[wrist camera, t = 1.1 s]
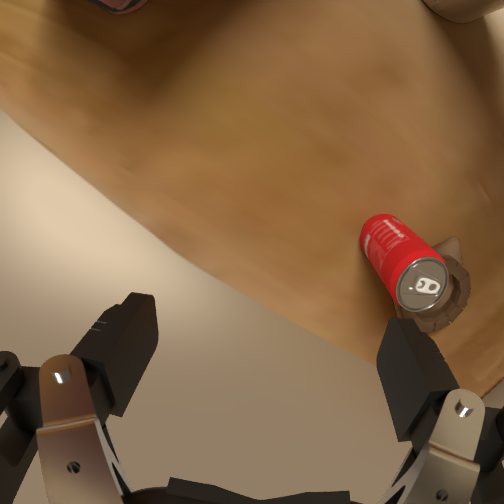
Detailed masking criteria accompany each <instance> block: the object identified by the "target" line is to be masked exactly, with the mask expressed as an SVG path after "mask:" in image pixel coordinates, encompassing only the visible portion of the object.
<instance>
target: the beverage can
mask: <svg viewBox="0 0 504 504" xmlns="http://www.w3.org/2000/svg"><path fill="white" fill-rule="evenodd" d="M360 244H361V248H362V250H363V251H364V253H365V255H366V256H367V258H368V259H369V261H370V262H371V264H372V266H373V267H374V269H375V270H376V272H377V274H378V275H379V277H380V278H381V280H382V282H383V283H384V285H385V287H386V288H387V290H388V292H389V293H390V295H391V297H392V298H393V300H394V301H395V302H396V303H397V304H398V305H400V306H401V307H403V308H404V309H406V310H409V311H413V312H419V311H423V310H426V309H428V308H430V307H432V306H433V305H435V304H436V303H437V302H438V301H439V300H440V299H441V297H442V296H443V294H444V293H445V291H446V288H447V285H448V279H449V276H448V270H447V267H446V265H445V262H444V260H443V258H442V257H441V256H440V255H439V254H438V253H437V252H436V251H435V250H434V249H432V248H431V247H430V246H429V245H428V244H427V243H426V242H424V241H423V240H422V239H421V238H420V237H419V236H418V235H416V234H415V233H414V232H413V231H412V230H411V229H409V228H408V227H407V226H406V225H405V224H403V223H402V222H401V221H400V220H399V219H397V218H396V217H394V216H392V215H389V214H380V215H376V216H374V217H372V218H370V219H369V220H368V221H367V222H366V223H365V224H364V226H363V228H362V231H361V235H360Z"/></svg>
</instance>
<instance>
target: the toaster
mask: <svg viewBox="0 0 504 504" xmlns="http://www.w3.org/2000/svg"><path fill="white" fill-rule="evenodd" d="M89 1H90V2H92V3H94V4H96V5H97V6H99V7H101V8H103V9H105V10H106V11H108V12H110V13H114V14H117V15H119V14H127V13H130V12H132V11H135V10H137V9H139V8H140V7H141V6H142V5H144V4H145V3H146V2H147V1H148V0H89Z"/></svg>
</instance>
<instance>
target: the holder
mask: <svg viewBox="0 0 504 504" xmlns="http://www.w3.org/2000/svg"><path fill="white" fill-rule="evenodd" d="M431 248H432V249H434V250H435V251H436V252H437V253H438V254H439V255H440V256H441V257H442V258H443V260H444V262H445V265H446V267H447V270H448V276H449V279H448V285H447V288H446V291H445V293H444V294H443V296H442V297H441V299H440V300H439V301H438V302H437V303H436V304H435V305H433V306H432V307H430V308H428V309H426V310H423V311H419V312H413V311H409V310H406V309H404V308H403V307H401V306H400V305H398V304H397V303H396V302H395V301H394V300H393V303H394V307H395V310H396V314H397V317H401V318H413V319H414V321H415V322H416V324H417V326H418V327H419V329H420V331H421V332H433V330H434V331H437V330H439V329H441V328H443V327H445V326H447V325H449V324H450V323H449V321H450V322H451V323H452V322H453V321H454V320H455V319H456V317H457V316H458V315H459V314H460V313H461V312H462V311H463V309H462V308H465V306H466V305H467V300H468V297H469V294H470V291H469V290H471V287H470V278H469V274H468V272H467V271H466V270H465V269H464V268H463V263H462V257H461V251H460V245H459V239H458V238H456V237H455V236H454V237H452V238H450V239H448V240H446V241H444V242H442V243H440V244H438V245H436V246H433V247H431ZM392 299H393V298H392Z"/></svg>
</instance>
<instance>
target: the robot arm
mask: <svg viewBox="0 0 504 504" xmlns="http://www.w3.org/2000/svg"><path fill="white" fill-rule="evenodd" d="M423 1H424V2H425V3H426V4H427V5H428V6H429V7H430V8H431V9H432V10H433V11H434V12H435V13H437V14H438V15H440V16H441V17H443V18H445V19H447V20H449V21H452V22H455V23H468V22H470V21H472V20H475V19H477V18H479V17H482V16H484V15H487V14H489V13H492V12H494V11H496V10H499V9H502V8H504V0H423ZM157 344H158V324H157V316H156V307H155V299H154V297H153V295H148V294H141V293H134V292H132V293H130V294H129V295H128V297H127V298H126V299H125V300H124V302H123V303H122V304H121V305H119V304H116V305H114V306H113V307H111V308H109V309H107V310H106V311H104V313H103V314H102V315H101V316H100V317H99V319H98V320H97V322H95V323H94V325H93V326H92V327H91V329H89V331H88V332H87V333H86V335H85V336H84V337H83V338H82V339H81V341H80V342H79V343H78V344H77V346H76V347H75V348H74V350H73V351H72V352H71V353H70V354H69V355H67V354H65V355H58V356H54V357H52V358H50V359H48V360H47V361H46V362H45V363H43V365H42V366H41V367H26V366H25V367H24V366H21V365H20V362H19V360H18V358H17V356H16V355H15V354H14V353H12V352H9V351H1V352H0V415H1V414H2V412H3V411H5V413H6V414H7V416H8V417H7V419H6V420H5V422H4V424H3V425H2V427H1V428H0V504H12V503H13V501H14V498H15V496H16V494H17V491H18V489H19V487H20V485H21V483H22V481H23V479H24V477H25V474H26V472H27V470H28V468H29V466H30V464H31V462H32V460H33V458H34V456H35V454H36V452H37V450H38V451H39V457H40V463H41V468H42V474H43V479H44V483H45V487H46V492H47V497H48V500H49V504H362V503H358V502H354V501H350V494H349V491H337V492H305V493H300V494H296V495H290V496H285V497H279V498H273V499H267V500H257V499H252V498H250V497H246V496H243V495H240V494H237V493H234V492H231V491H228V490H226V489H223V488H220V487H217V486H215V485H209V484H203V483H198V482H192V481H187V480H182V479H177V478H173V477H170V479H169V483H168V486H167V487H152V488H146V489H141V490H137V491H133V489H132V486H131V484H130V482H129V481H128V478H127V477H126V474H125V472H124V470H123V468H122V465H121V462H120V460H119V457H118V455H117V452H116V449H115V446H114V444H113V441H112V438H111V435H110V432H109V429H108V426H107V424H106V420H107V418H108V416H109V414H112V415H115V416H119V417H122V416H123V414H124V412H125V410H126V408H127V406H128V403H129V401H130V399H131V397H132V395H133V393H134V391H135V389H136V387H137V385H138V383H139V381H140V379H141V377H142V375H143V373H144V371H145V369H146V367H147V365H148V363H149V361H150V359H151V357H152V355H153V354H154V352H155V350H156V347H157ZM377 370H378V374H379V377H380V380H381V383H382V386H383V390H384V393H385V396H386V399H387V403H388V406H389V410H390V413H391V417H392V420H393V424H394V427H395V431H396V435H397V439H398V442H402V441H411V442H412V445H413V446H412V447H411V449H410V450H409V451H408V454H407V455H406V457H405V459H404V461H403V463H402V464H401V466H400V468H399V470H398V472H397V474H396V475H395V477H394V479H393V480H392V482H391V484H390V485H389V487H388V489H387V490H386V492H385V493H384V494H383V496H382V497H381V498H380V500H379V501H378V502H377V503H376V504H469V502H471V504H504V468H503V465H502V461H503V460H504V406H503V408H502V409H498V408H490V407H484V404H483V402H482V400H481V399H480V398H479V397H478V396H477V395H476V394H475V393H473V392H471V391H469V390H465V389H460V387H459V385H458V383H457V381H456V379H455V378H454V376H453V374H452V372H451V370H450V368H449V366H448V365H447V363H446V361H444V357H443V356H442V354H441V353H440V350H439V349H438V347H437V345H436V343H435V342H434V340H432V339H431V338H430V337H429V336H428V335H427V334H426V333H424V332H421V331H420V329H419V327H418V326H417V324H416V322H415V321H414V319H413V318H401V317H392V318H391V319H390V320H389V322H388V325H387V328H386V331H385V334H384V337H383V340H382V343H381V345H380V348H379V351H378V354H377Z"/></svg>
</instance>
